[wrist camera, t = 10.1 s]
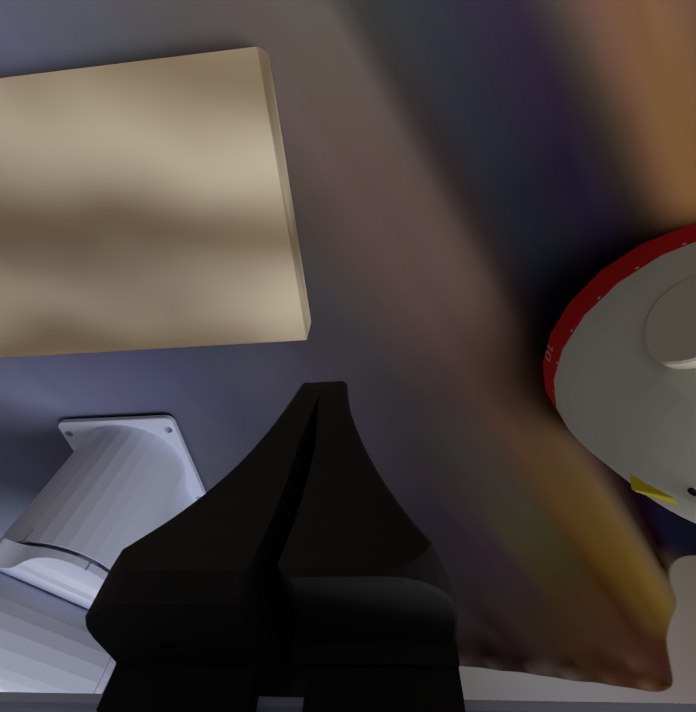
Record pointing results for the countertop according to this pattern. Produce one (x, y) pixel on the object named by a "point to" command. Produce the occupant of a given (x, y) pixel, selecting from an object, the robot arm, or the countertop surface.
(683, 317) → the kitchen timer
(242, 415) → the countertop surface
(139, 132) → the beige flat slab
